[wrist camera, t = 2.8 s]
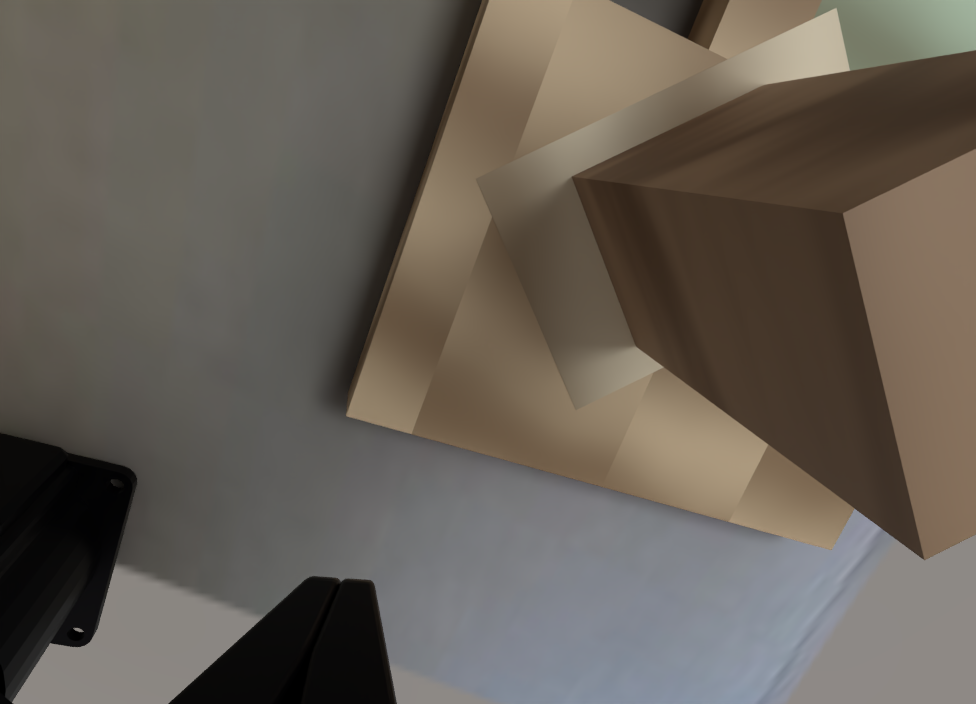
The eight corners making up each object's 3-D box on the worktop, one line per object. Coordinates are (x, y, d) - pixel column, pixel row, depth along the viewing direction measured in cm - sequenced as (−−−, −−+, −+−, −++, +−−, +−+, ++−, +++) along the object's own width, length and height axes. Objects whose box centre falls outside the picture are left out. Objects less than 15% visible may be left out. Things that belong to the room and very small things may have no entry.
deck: (797, 520, 26) (831, 550, 24) (347, 392, 21) (346, 416, 19) (1046, 55, 22) (1111, 47, 20) (560, -231, 17) (584, -278, 15)
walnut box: (635, 346, 20) (924, 560, 10) (571, 176, 18) (843, 212, 8) (810, 261, 20) (1279, 381, 10) (764, 84, 18) (1282, -1, 8)
